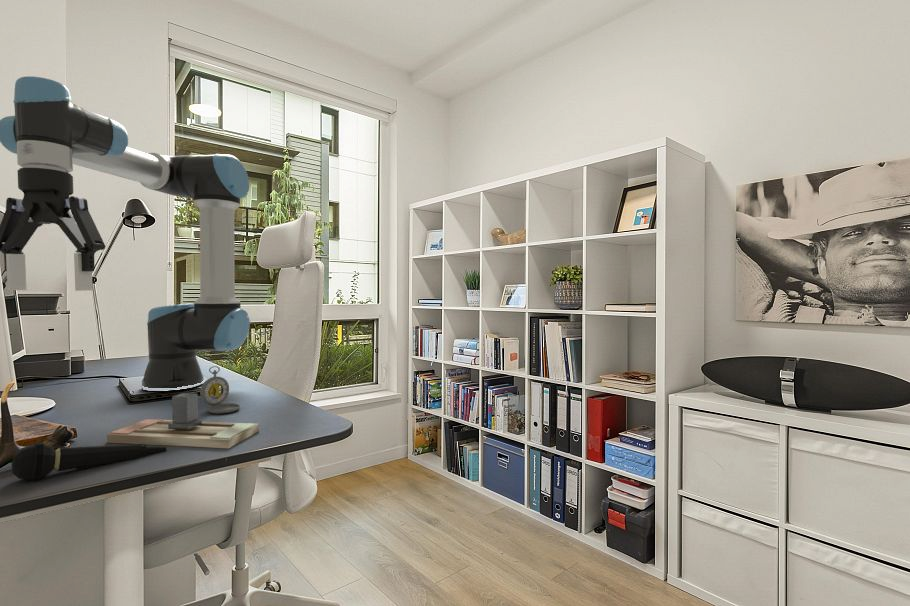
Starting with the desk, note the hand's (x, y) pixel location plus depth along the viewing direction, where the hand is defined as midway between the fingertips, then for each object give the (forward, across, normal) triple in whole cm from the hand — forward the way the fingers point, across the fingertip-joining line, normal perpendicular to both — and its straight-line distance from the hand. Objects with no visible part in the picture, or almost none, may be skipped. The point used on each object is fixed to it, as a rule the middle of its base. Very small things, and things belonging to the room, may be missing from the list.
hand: (50, 290), depth 87 cm
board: (+28, +20, +7) cm, 35 cm away
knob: (+26, +20, +7) cm, 34 cm away
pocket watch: (+28, +16, +26) cm, 41 cm away
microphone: (+28, +17, -9) cm, 34 cm away
